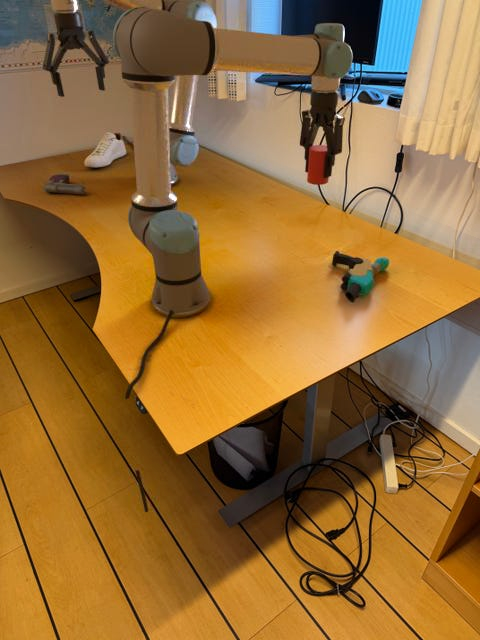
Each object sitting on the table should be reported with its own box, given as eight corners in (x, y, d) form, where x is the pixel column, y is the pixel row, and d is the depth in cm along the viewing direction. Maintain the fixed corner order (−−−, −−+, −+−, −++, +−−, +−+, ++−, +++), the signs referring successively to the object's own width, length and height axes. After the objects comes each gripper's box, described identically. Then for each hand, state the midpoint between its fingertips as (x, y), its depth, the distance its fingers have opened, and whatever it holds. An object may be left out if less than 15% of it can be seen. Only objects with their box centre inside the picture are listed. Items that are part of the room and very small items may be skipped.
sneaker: (78, 170, 212) (72, 142, 204) (110, 151, 234) (106, 126, 226) (99, 172, 209) (94, 144, 202) (129, 153, 231) (126, 127, 224)
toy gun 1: (99, 183, 198) (82, 197, 186) (58, 181, 201) (39, 194, 189) (97, 174, 195) (80, 188, 184) (55, 172, 199) (36, 184, 187)
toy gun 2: (311, 281, 124) (367, 296, 118) (342, 242, 143) (392, 253, 137) (309, 296, 127) (365, 311, 121) (340, 255, 145) (389, 267, 139)
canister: (329, 178, 146) (332, 145, 140) (326, 185, 141) (329, 152, 135) (309, 176, 147) (311, 144, 142) (305, 183, 142) (307, 150, 137)
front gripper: (362, 93, 125) (352, 178, 139) (306, 83, 137) (301, 163, 151) (345, 97, 121) (336, 185, 135) (289, 87, 133) (285, 169, 147)
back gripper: (28, 14, 127) (48, 100, 139) (112, 10, 140) (123, 89, 152) (18, 13, 131) (38, 96, 144) (100, 9, 144) (112, 85, 157)
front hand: (318, 173), depth 143 cm, fingers closed on canister, 6 cm apart
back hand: (82, 93), depth 148 cm, fingers open, 13 cm apart
